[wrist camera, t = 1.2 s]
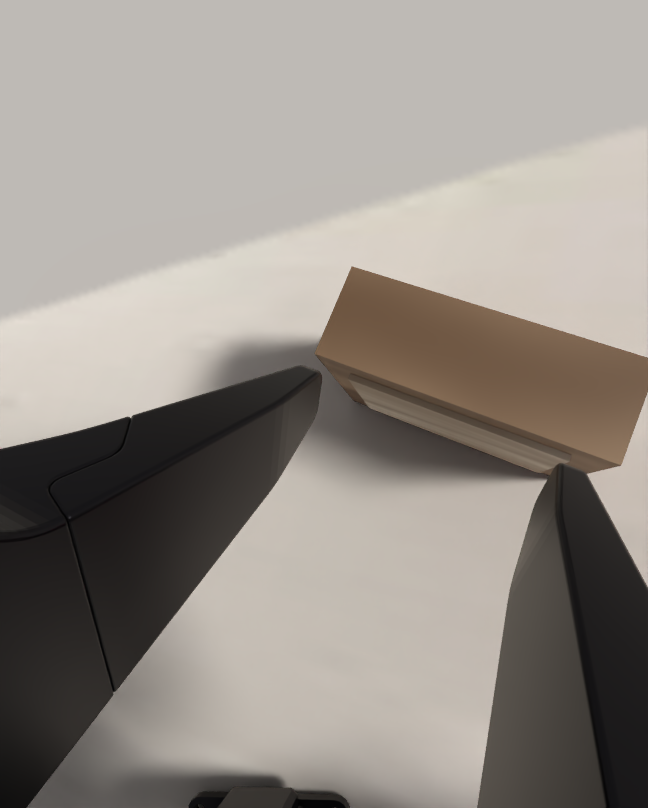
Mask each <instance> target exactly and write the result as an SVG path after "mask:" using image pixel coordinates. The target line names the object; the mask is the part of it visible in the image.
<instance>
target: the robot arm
mask: <svg viewBox="0 0 648 808" xmlns="http://www.w3.org/2000/svg"><path fill="white" fill-rule="evenodd" d="M321 384H322V375H321V373H320V372H319V371H316V370H314V369H311V368H308V367H306V366H303V365H299V366H295V367H292V368H289V369H285V370H282V371H279V372H275V373H272V374H269V375H265V376H262V377H259V378H255V379H252V380H249V381H245V382H242V383H239V384H235V385H232V386H229V387H226V388H222V389H219V390H216V391H212V392H209V393H206V394H202V395H199V396H196V397H192V398H189V399H186V400H182V401H179V402H176V403H172V404H169V405H166V406H162V407H159V408H156V409H152V410H149V411H146V412H142V413H139V414H136V415H133V416H132V418H130V417H125V418H122V419H119V420H115V421H112V422H109V423H105V424H101V425H98V426H94V427H91V428H87V429H84V430H80V431H76V432H72V433H68V434H64V435H60V436H56V437H51V438H47V439H43V440H39V441H34V442H30V443H25V444H21V445H16V446H12V447H7V448H3V449H0V808H26V807H27V806H28V805H29V804H30V802H31V801H32V800H33V798H34V797H35V796H36V795H37V793H38V792H39V791H40V789H41V788H42V787H43V785H44V784H45V783H46V782H47V780H48V779H49V778H50V776H51V775H52V774H53V773H54V771H55V770H56V769H57V767H58V766H59V765H60V763H61V762H62V761H63V760H64V758H65V757H66V756H67V754H68V753H69V752H70V750H71V749H72V748H73V747H74V745H75V744H76V743H77V741H78V740H79V739H80V738H81V736H82V735H83V734H84V732H85V731H86V730H87V728H88V727H89V726H90V725H91V723H92V722H93V721H94V719H95V718H96V717H97V716H98V714H99V713H100V712H101V710H102V709H103V708H104V706H105V705H106V704H107V703H108V701H109V700H110V699H111V697H112V696H113V692H115V691H116V690H117V689H118V688H119V687H120V685H121V684H122V683H123V681H124V680H125V679H126V678H127V676H128V675H129V674H130V672H131V671H132V670H133V668H134V667H135V666H136V665H137V663H138V662H139V661H140V659H141V658H142V657H143V656H144V654H145V653H146V652H147V650H148V649H149V648H150V646H151V645H152V644H153V643H154V641H155V640H156V639H157V637H158V636H159V635H160V634H161V632H162V631H163V630H164V628H165V627H166V626H167V624H168V623H169V622H170V621H171V619H172V618H173V617H174V615H175V614H176V613H177V612H178V610H179V609H180V608H181V606H182V605H183V604H184V602H185V601H186V600H187V599H188V597H189V596H190V595H191V593H192V592H193V591H194V590H195V588H196V587H197V586H198V584H199V583H200V582H201V580H202V579H203V578H204V577H205V575H206V574H207V573H208V571H209V570H210V569H211V568H212V566H213V565H214V564H215V562H216V561H217V560H218V558H219V557H220V556H221V555H222V553H223V552H224V551H225V549H226V548H227V547H228V546H229V544H230V543H231V542H232V540H233V539H234V538H235V536H236V535H237V534H238V533H239V531H240V530H241V529H242V527H243V526H244V525H245V524H246V522H247V521H248V520H249V518H250V517H251V516H252V514H253V513H254V512H255V511H256V509H257V508H258V507H259V505H260V504H261V503H262V502H263V500H264V499H265V498H266V496H267V495H268V494H269V492H270V491H271V490H272V488H273V487H274V486H275V484H276V483H277V481H278V479H279V478H280V476H281V475H282V473H283V471H284V470H285V468H286V466H287V465H288V463H289V461H290V460H291V458H292V456H293V454H294V453H295V451H296V449H297V448H298V446H299V444H300V443H301V441H302V439H303V438H304V436H305V434H306V432H307V431H308V429H309V427H310V426H311V424H312V422H313V420H314V418H315V416H316V413H317V410H318V404H319V397H320V390H321ZM198 804H202V805H203V806H204V807H205V808H334V807H336V808H350V806H349V803H348V802H347V800H346V799H345V798H344V797H342V796H340V795H332V794H298V793H297V792H295V791H294V790H293V789H292V788H272V787H233V788H232V789H231V791H230V792H200V793H198V794H197V795H196V796H195V797H194V798H193V799H192V801H191V802H190V804H189V808H199V807H198ZM477 808H648V587H647V585H646V583H645V581H644V579H643V578H642V576H641V574H640V572H639V570H638V568H637V566H636V565H635V563H634V561H633V559H632V557H631V555H630V553H629V552H628V550H627V548H626V546H625V544H624V542H623V540H622V539H621V537H620V535H619V533H618V531H617V529H616V527H615V526H614V524H613V522H612V520H611V518H610V516H609V514H608V513H607V511H606V509H605V507H604V505H603V503H602V501H601V500H600V498H599V496H598V494H597V492H596V490H595V489H594V487H593V485H592V483H591V481H590V479H589V477H588V476H587V474H586V473H585V472H584V471H583V470H580V469H577V468H575V467H572V466H569V465H567V464H564V463H558V464H557V465H556V466H555V467H554V469H553V471H552V472H551V474H550V476H549V478H548V480H547V482H546V483H545V485H544V487H543V489H542V491H541V493H540V494H539V496H538V498H537V500H536V503H535V505H534V508H533V511H532V514H531V518H530V521H529V525H528V528H527V531H526V535H525V538H524V542H523V545H522V548H521V552H520V555H519V558H518V562H517V565H516V569H515V572H514V576H513V579H512V583H511V587H510V592H509V598H508V603H507V610H506V617H505V624H504V630H503V637H502V644H501V651H500V658H499V664H498V671H497V678H496V685H495V691H494V698H493V705H492V712H491V718H490V725H489V732H488V739H487V746H486V752H485V759H484V766H483V773H482V779H481V786H480V793H479V800H478V806H477Z"/></svg>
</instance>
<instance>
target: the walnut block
mask: <svg viewBox="0 0 648 808" xmlns="http://www.w3.org/2000/svg"><path fill="white" fill-rule="evenodd" d="M315 355H316V356H317V357H318V358H319V360H320V361H321V362H322V363H323V364H324V366H325V367H326V368H327V369H328V370H329V372H330V373H331V374H332V375H333V376H334V378H335V379H336V380H337V381H338V382H339V384H340V385H341V386H342V387H343V388H344V390H345V391H346V392H347V393H348V394H349V396H350V397H351V398H352V399H353V400H354V401H356V402H359V403H361V404H364V405H366V406H368V407H369V408H370V409H373V410H375V411H378V412H381V413H383V414H386V415H388V416H391V417H394V418H396V419H399V420H401V421H404V422H407V423H409V424H412V425H414V426H417V427H420V428H422V429H425V430H427V431H430V432H433V433H435V434H438V435H440V436H443V437H446V438H448V439H451V440H453V441H456V442H459V443H461V444H464V445H466V446H469V447H472V448H474V449H477V450H480V451H482V452H485V453H487V454H490V455H493V456H495V457H498V458H500V459H503V460H506V461H508V462H511V463H513V464H516V465H519V466H521V467H524V468H526V469H529V470H532V471H534V472H537V473H540V472H541V473H544V474H547V475H549V476H550V474H551V472H552V471H553V469H554V467H555V466H556V465H557V464H558V463H564V464H567V465H569V466H572V467H575V468H577V469H580V470H583V471H584V472H585V473H586V474H588V473H592V472H596V471H600V470H604V469H608V468H612V467H617V466H621V464H622V462H623V459H624V456H625V453H626V450H627V448H628V445H629V442H630V439H631V437H632V434H633V431H634V428H635V426H636V423H637V420H638V417H639V414H640V412H641V409H642V406H643V403H644V401H645V398H646V395H647V392H648V358H647V357H644V356H640V355H637V354H634V353H631V352H627V351H624V350H621V349H618V348H614V347H611V346H608V345H605V344H601V343H598V342H595V341H592V340H588V339H585V338H582V337H579V336H576V335H572V334H569V333H566V332H563V331H559V330H556V329H553V328H550V327H546V326H543V325H540V324H537V323H533V322H530V321H527V320H524V319H520V318H517V317H514V316H511V315H508V314H504V313H501V312H498V311H495V310H491V309H488V308H485V307H482V306H478V305H475V304H472V303H469V302H465V301H462V300H459V299H456V298H452V297H449V296H446V295H443V294H440V293H436V292H433V291H430V290H427V289H423V288H420V287H417V286H414V285H410V284H407V283H404V282H401V281H397V280H394V279H391V278H388V277H384V276H381V275H378V274H375V273H372V272H368V271H365V270H362V269H359V268H355V267H351V270H350V272H349V274H348V277H347V279H346V281H345V284H344V286H343V288H342V291H341V293H340V295H339V298H338V300H337V302H336V305H335V307H334V309H333V312H332V314H331V316H330V319H329V321H328V323H327V326H326V328H325V330H324V333H323V335H322V337H321V340H320V342H319V344H318V347H317V349H316V351H315Z"/></svg>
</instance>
